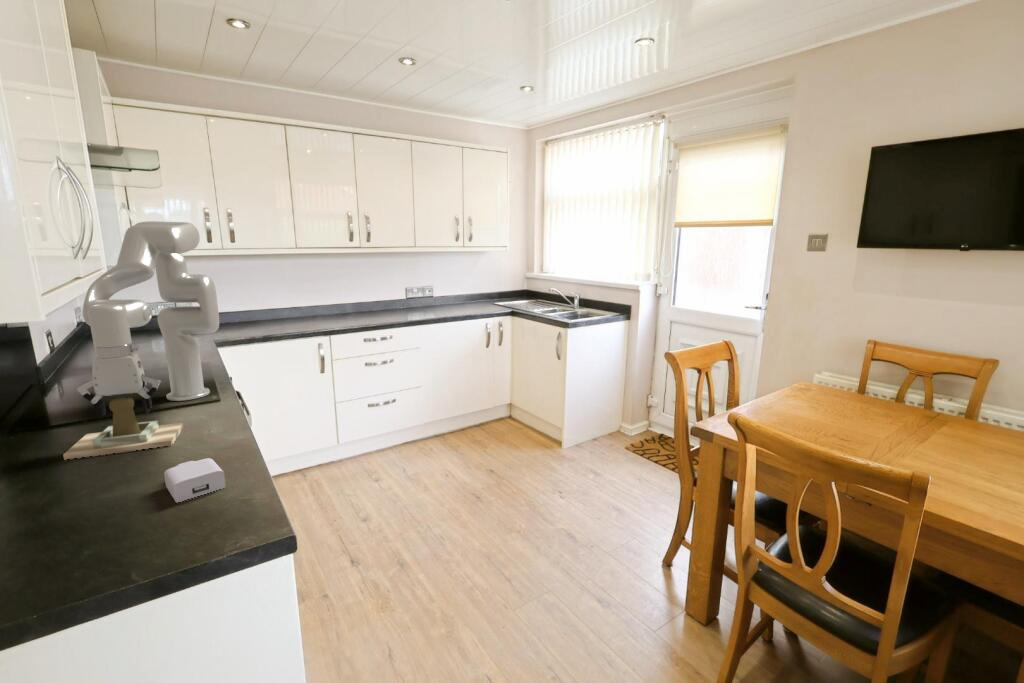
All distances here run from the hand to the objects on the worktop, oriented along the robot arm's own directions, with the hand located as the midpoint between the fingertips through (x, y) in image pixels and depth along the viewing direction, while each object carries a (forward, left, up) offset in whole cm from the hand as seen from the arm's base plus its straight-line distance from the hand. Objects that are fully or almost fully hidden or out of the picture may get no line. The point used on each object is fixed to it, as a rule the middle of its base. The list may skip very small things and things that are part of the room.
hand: (125, 413), depth 124 cm
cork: (0, 0, -7) cm, 7 cm away
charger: (+33, +20, -9) cm, 39 cm away
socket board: (0, 0, -8) cm, 8 cm away
